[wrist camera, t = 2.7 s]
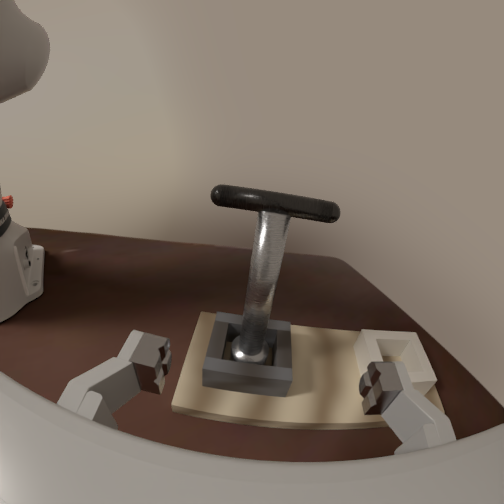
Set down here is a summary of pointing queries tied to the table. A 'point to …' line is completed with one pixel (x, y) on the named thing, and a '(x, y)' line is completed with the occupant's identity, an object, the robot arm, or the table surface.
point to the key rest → (396, 354)
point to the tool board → (276, 378)
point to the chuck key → (266, 256)
